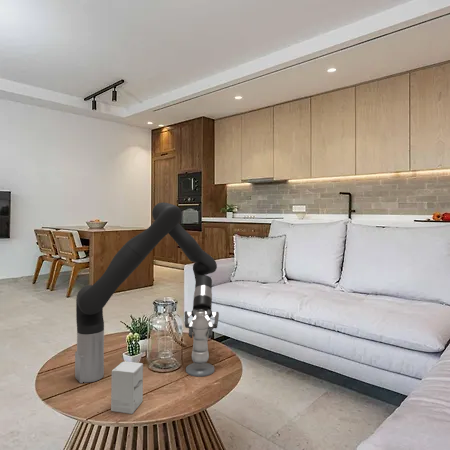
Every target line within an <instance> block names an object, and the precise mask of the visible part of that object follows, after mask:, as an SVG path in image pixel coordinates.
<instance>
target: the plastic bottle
mask: <svg viewBox="0 0 450 450" xmlns="http://www.w3.org/2000/svg"><path fill="white" fill-rule="evenodd" d="M205 316H206V314H205V310H196V318H195V320H194V321H193V324H192V329H193V336H192V339H193V340H192V341H193V344H192V351H191V360H192V362H193V363H197V364H202V363H208V361H209V356H210V355H209V348H208V347H209V346H208V339H209V338H208V334H209V322H208V320H207V319H206V318H205Z"/></svg>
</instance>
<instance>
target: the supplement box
mask: <svg viewBox="0 0 450 450" xmlns="http://www.w3.org/2000/svg"><path fill="white" fill-rule="evenodd" d="M110 390H111V395H110V397H111V398H110V401H111V402H110V404H111V405H110V411H111V412H116V413H122V414H123V413H124V414H130V415H133V414H134V412H135V411H136V410H137V409H138V407H140V406H141V404H142V403H143V399H144V397H143V395H144V394H143V393H144V391H143V390H144V363H142V362H133V361H132V362H131V361H122V362H120V363H119V364H118V365H117V366H115V367H114V368H113V369H112V370H111V388H110Z"/></svg>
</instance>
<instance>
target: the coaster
mask: <svg viewBox="0 0 450 450" xmlns="http://www.w3.org/2000/svg"><path fill="white" fill-rule="evenodd" d="M185 367H186V368H185V372H186V374H187V375H188V376H192V377H197V378H199V377H202V378H203V377H207V376H210V375H212V374H214V372H215V366H214V365H213V364H211V363H210V362H209V363H208V362H206V363H202V364H197V363H194V362H193V363H190V364H188V365H187V366H185Z"/></svg>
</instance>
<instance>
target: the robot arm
mask: <svg viewBox="0 0 450 450" xmlns="http://www.w3.org/2000/svg"><path fill="white" fill-rule="evenodd" d="M151 211H152V212H151V213H152V215H151V216H152V218H153V222H152V224H151V225H150V226H149V227H147V228H146V229H145V230H143V231H142V232H140V233H139V234H137V235H135V236H133V237H132V238H130V239H129V240H128V241H126V243H124V245H123V246H122V247H120V249H119V250H118V251H117V252H116V253H115V255H114V256H113V258H112V260H111V261H110V263H108V264H109V265H108V266H107V268H106V269H105V271H104V273H103V274H102V275H101V277H100V278H98V279H97V281H96V282H95V283H93V284H89V285H85V286H84V287H81V289H79V291H78V292H77V294H76V300H75V303H76V304H75V307H76V308H75V310H76V312H75V313H76V317H75V318H76V319H75V321H76V351H74V378H75V379H76V380H77V381H78V382H79V384H83V382H84V383H94V382H97V381H99V380H101V379H102V378H104V375H105V373H104V372H105V365H104V364H105V356H104V355H105V321H104V315H103V314H104V312H103V309H104V307H106V305H107V304H108V301H110V299H111V297H112V296H113V295H114V294H115V292H116V291H117V289H118V288H119V287H120V286H121V285H122V284H123V283H124V282H125V281H126V280H127V279H128V278H129V276H131V274H133V272H134V271H135V270H136V269H137V268H138V267H139V266H140V265H141V263H143V261H144V260H145V259H146V257H148V255H149V254H150V253H151V252H152V251H153V249H155V247H156V246H157V245H158V244H159V243H160V242H161V241H162V240H163V238H165V237H166V236H167V235H170V237H171V238H172V239H173V240H174V242H175V244H177V245H178V247H179V248H180V249H181V251H182V252H183V253H184V255H185V256H186V257H187V259H188V260H189V261H190V262H192V263H193V265H192V271H193V275H194V281H195V284H194V294H193V301H192V311H187V310H185V311H184V328H186V329H188V337H190V339H193V329H192V324H193V321H194V320H195V318H196V310H205V314H206V316H205V318H206V319H207V320H208V322H209V330H208V338H207V339H211V338H212V337H213V330H214V329H217V328H218V326H219V325H218V324H219V318H220V317H219V316H220V312H219V311H216V312H213V311H212V304H213V301H212V300H213V292H212V286H213V280H212V278H211V276H209V275H210V274H213V273H215V272H216V270H217V268H218V265H217V262H216V260H215V259H214V257H212V256H211V255H210V254H209V253H207V252H206V251H205V250H203V248H202V247H201V246H200V244H199V243H198V242H197V240H196V239H195V238H194V237H193V236H192V235H191V234H190V233H189V232H188V231H187V230H186V229H185V228H184V227H183V225H181V224H180V222H181V219H182V216H183V214H182V209H181V208H180V207H179V206H177V205H175V204H172V203H169V202H158V203H157V204H155V205H154V206H153V209H152V210H151ZM191 317H192V319H191V322H190V323H189V319H190V318H191ZM211 317H213V319H214V322H213V323H212V321H211Z"/></svg>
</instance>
